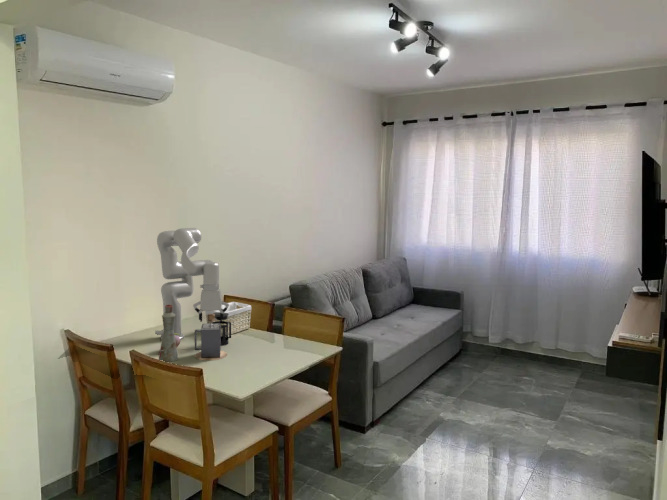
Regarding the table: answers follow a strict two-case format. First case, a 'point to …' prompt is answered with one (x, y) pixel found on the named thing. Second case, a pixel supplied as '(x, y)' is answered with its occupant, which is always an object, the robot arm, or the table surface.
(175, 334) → the decorative fruit
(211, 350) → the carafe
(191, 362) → the table surface
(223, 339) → the french press
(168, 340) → the bottle
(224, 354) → the coaster
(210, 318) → the plunger
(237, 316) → the storage basket
